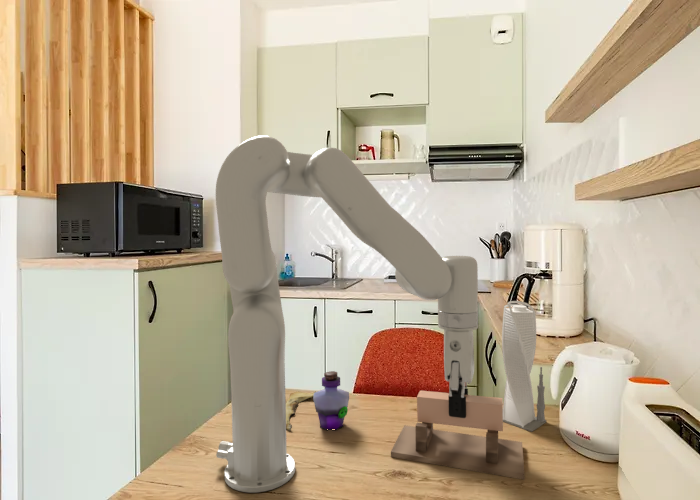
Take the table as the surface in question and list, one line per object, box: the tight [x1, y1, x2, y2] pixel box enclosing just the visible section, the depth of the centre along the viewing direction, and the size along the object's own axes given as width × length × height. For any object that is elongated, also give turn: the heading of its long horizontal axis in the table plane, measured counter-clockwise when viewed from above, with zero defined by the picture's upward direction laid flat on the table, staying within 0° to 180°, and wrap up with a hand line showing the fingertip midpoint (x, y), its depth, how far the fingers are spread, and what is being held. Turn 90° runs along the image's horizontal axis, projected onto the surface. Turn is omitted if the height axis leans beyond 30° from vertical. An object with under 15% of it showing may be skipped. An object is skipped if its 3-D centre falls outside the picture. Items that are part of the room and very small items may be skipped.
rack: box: [390, 422, 525, 480], centre depth 86 cm, size 24×12×6 cm, turn 70°
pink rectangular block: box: [416, 390, 504, 432], centre depth 85 cm, size 16×4×5 cm, turn 70°
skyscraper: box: [501, 300, 547, 432], centre depth 98 cm, size 8×8×28 cm
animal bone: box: [286, 391, 317, 432], centre depth 106 cm, size 21×2×10 cm
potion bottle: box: [312, 370, 350, 432], centre depth 98 cm, size 9×9×12 cm
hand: (458, 411), depth 85 cm, fingers closed on pink rectangular block, 3 cm apart
